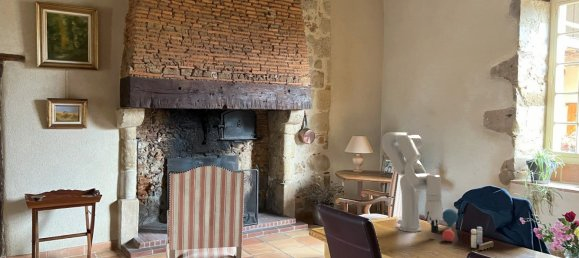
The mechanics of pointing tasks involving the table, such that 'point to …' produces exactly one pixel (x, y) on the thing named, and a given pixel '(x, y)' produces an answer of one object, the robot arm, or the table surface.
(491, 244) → the backstop
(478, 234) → the slate-blue pin
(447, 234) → the ball
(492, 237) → the table surface
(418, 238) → the table surface
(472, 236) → the ivory pin
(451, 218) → the blue ovoid piece
